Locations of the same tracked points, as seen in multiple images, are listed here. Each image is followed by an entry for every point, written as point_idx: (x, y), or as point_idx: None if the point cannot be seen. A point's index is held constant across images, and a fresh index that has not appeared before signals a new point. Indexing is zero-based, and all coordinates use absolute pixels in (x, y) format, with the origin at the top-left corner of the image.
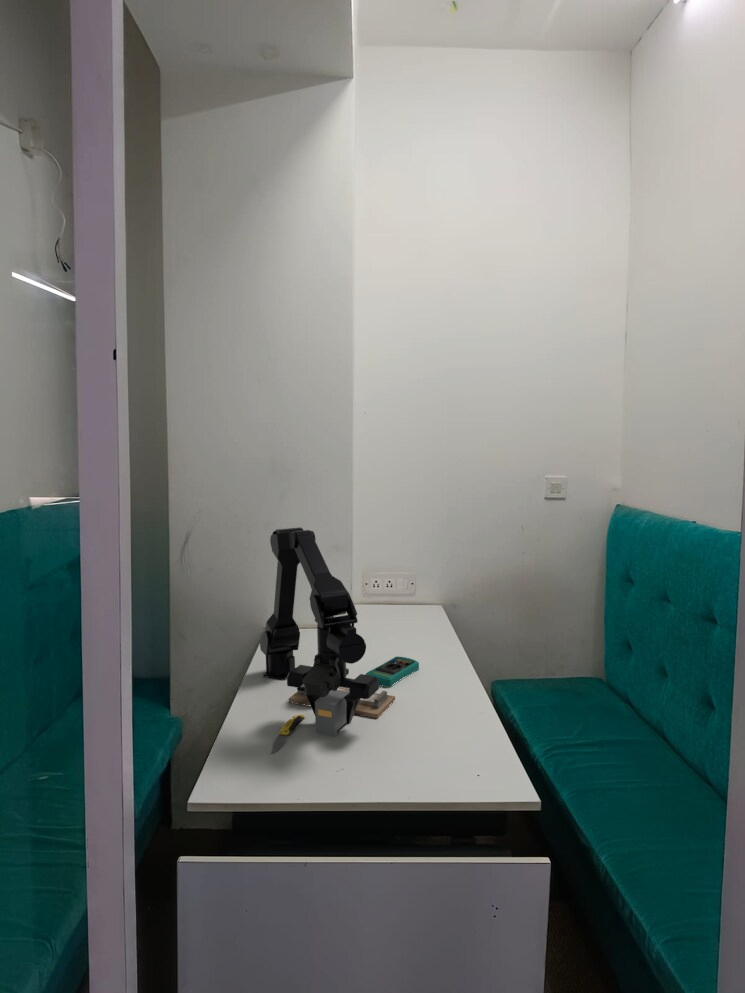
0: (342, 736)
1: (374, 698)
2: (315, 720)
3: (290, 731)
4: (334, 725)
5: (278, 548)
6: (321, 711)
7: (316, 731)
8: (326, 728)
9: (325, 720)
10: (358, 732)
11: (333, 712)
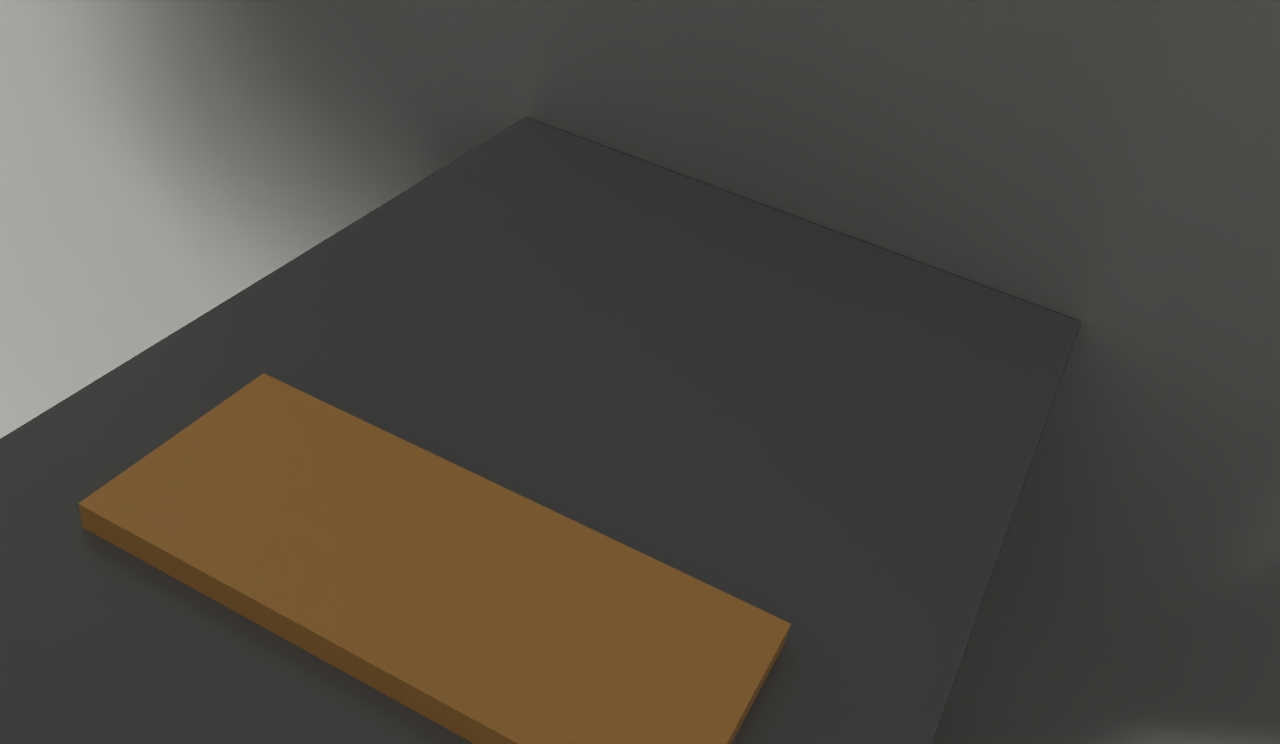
0: (388, 126)
1: None
2: (998, 536)
3: None
4: (360, 234)
5: None
6: (532, 675)
7: (1047, 327)
8: (679, 277)
9: (585, 414)
10: (207, 300)
11: (33, 474)
